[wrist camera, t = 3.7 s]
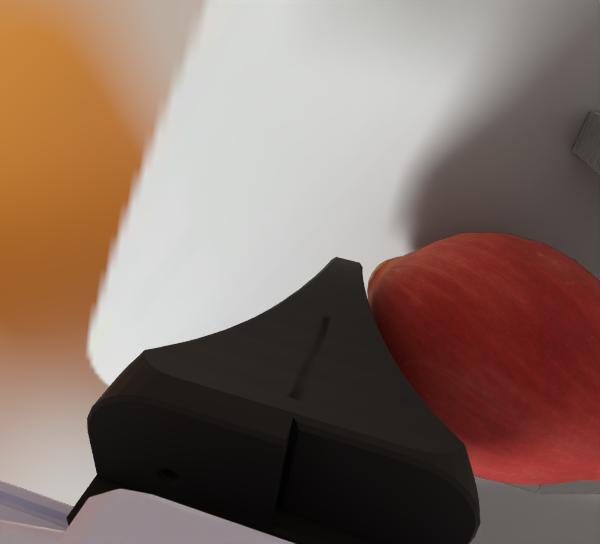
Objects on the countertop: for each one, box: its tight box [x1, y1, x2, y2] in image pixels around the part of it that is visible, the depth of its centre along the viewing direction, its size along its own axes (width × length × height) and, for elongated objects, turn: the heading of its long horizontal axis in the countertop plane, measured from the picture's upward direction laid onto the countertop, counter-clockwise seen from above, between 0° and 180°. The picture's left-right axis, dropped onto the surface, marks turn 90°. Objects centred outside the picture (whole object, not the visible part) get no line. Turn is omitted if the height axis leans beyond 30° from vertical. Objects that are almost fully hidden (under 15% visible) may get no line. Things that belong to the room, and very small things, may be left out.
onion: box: [367, 232, 600, 485], centre depth 11 cm, size 6×6×8 cm
